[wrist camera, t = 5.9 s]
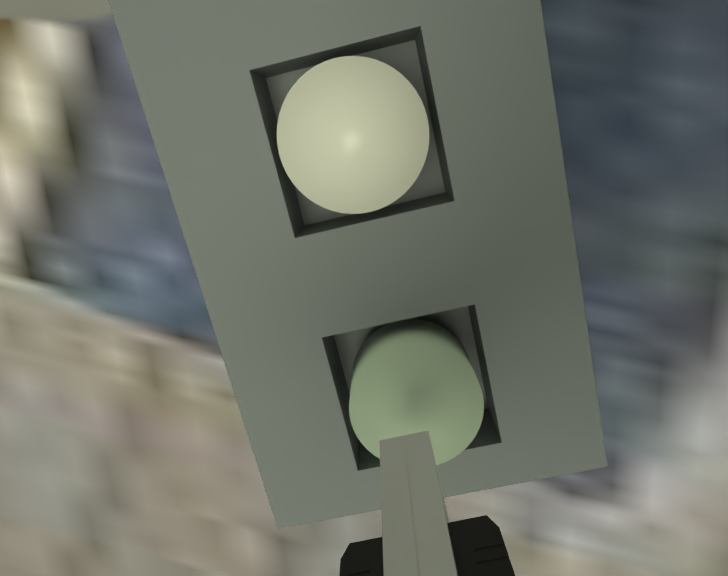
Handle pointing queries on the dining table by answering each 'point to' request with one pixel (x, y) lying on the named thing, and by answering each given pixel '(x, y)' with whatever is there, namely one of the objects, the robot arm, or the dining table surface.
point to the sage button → (415, 388)
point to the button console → (375, 233)
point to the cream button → (353, 134)
